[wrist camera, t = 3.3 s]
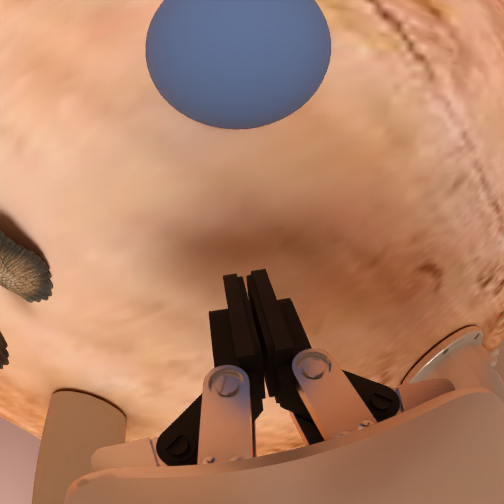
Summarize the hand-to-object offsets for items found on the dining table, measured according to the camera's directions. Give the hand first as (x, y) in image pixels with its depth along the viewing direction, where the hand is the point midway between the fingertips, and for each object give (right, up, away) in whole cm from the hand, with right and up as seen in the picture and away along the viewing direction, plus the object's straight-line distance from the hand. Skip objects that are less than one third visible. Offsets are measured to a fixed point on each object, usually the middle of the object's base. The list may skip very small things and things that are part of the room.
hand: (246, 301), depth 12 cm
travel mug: (-16, -13, +10) cm, 23 cm away
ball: (0, +9, -4) cm, 10 cm away
